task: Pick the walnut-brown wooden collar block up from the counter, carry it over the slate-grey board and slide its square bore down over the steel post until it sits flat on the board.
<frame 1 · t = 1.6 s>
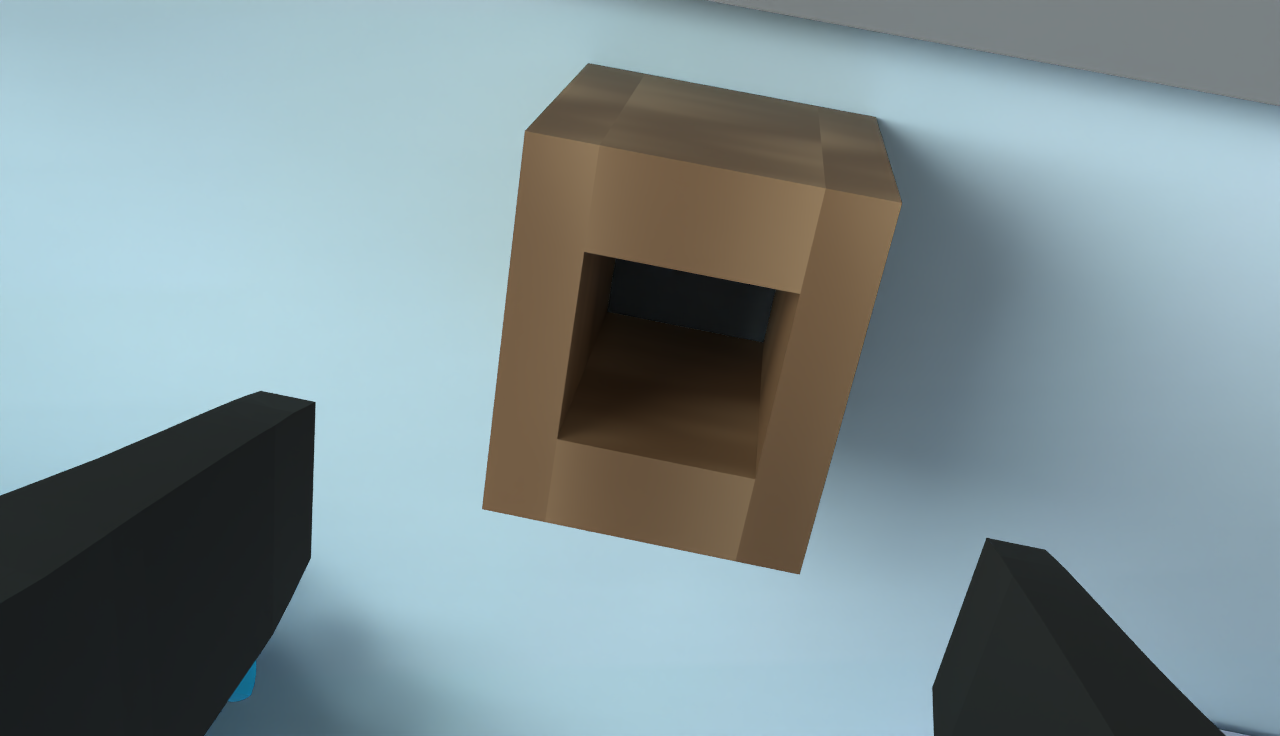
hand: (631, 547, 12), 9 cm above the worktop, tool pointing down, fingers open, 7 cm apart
gear: (115, 627, 26), on the worktop
collar: (699, 253, 20), on the worktop
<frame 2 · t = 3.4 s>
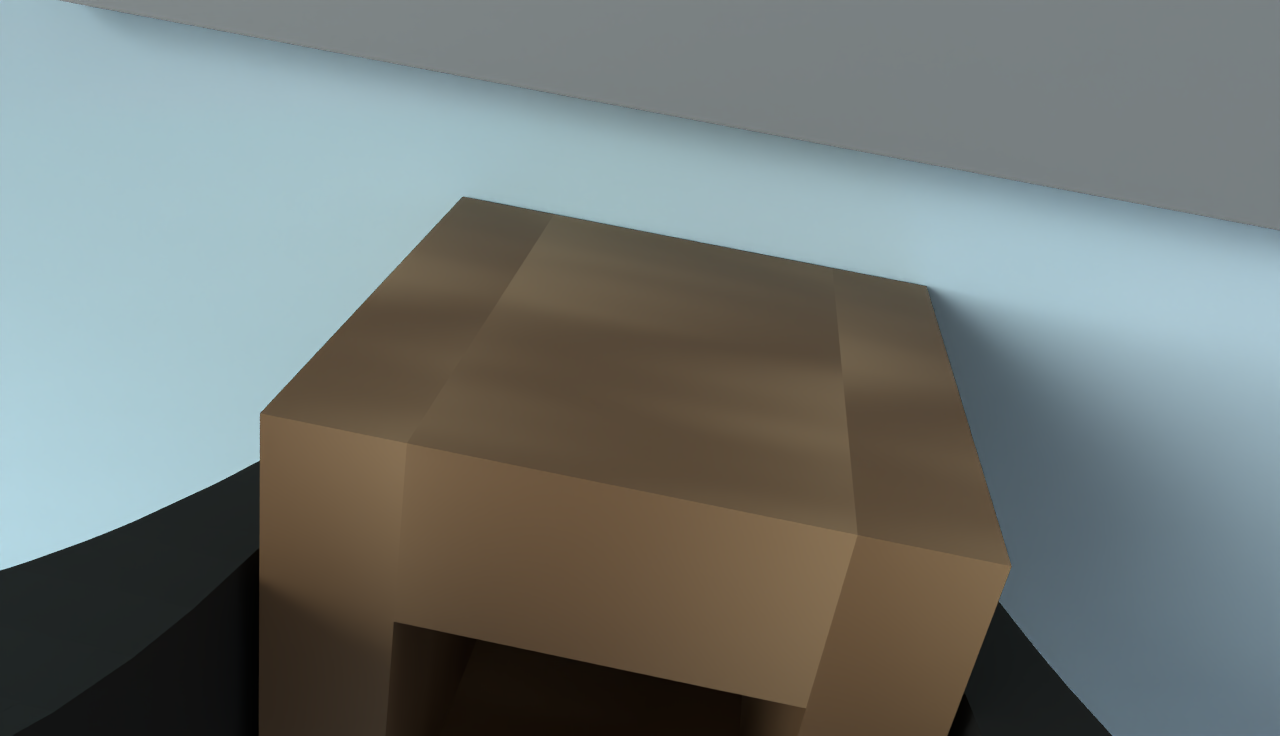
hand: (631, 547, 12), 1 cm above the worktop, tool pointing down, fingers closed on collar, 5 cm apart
collar: (647, 478, 13), on the worktop, touching gripper
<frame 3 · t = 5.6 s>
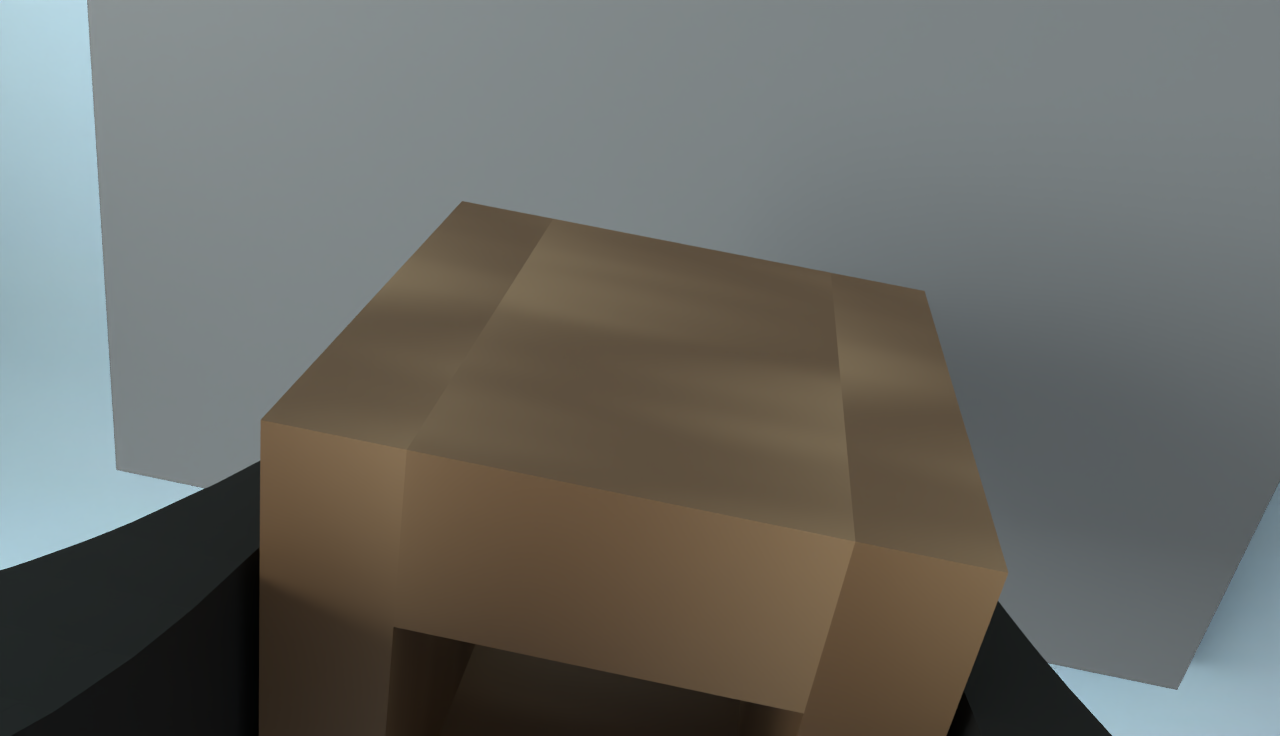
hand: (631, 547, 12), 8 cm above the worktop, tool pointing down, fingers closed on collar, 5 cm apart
collar: (646, 482, 13), point 6 cm above the worktop, touching gripper
hub board: (692, 285, 19), on the worktop
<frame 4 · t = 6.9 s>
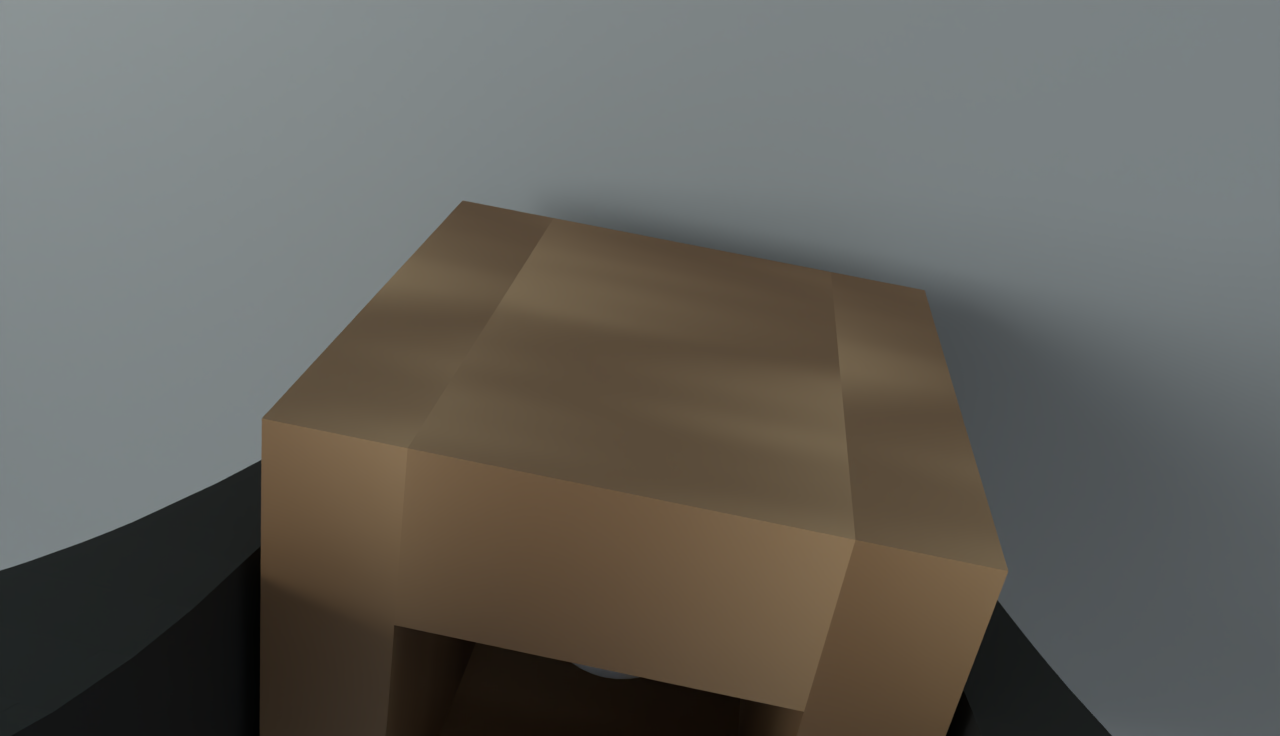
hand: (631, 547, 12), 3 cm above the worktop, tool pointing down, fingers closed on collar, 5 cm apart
collar: (646, 481, 13), point 2 cm above the worktop, touching gripper
hub board: (664, 401, 15), on the worktop
when the fingers open (3 cm above the worktop, at t = 7.8 s): collar stays where it is, resting on hub board.
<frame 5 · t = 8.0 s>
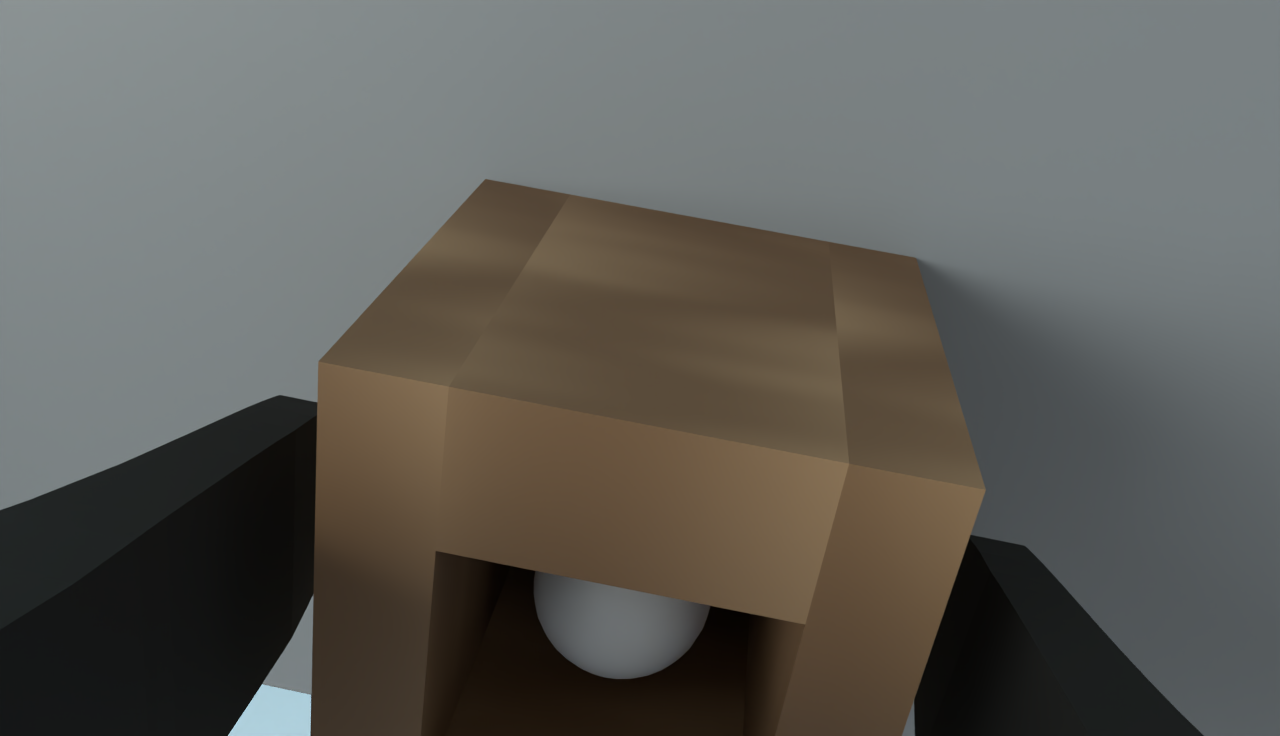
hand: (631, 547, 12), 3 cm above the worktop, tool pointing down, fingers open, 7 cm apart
collar: (658, 442, 14), point 1 cm above the worktop, touching hub board
hub board: (664, 401, 15), on the worktop
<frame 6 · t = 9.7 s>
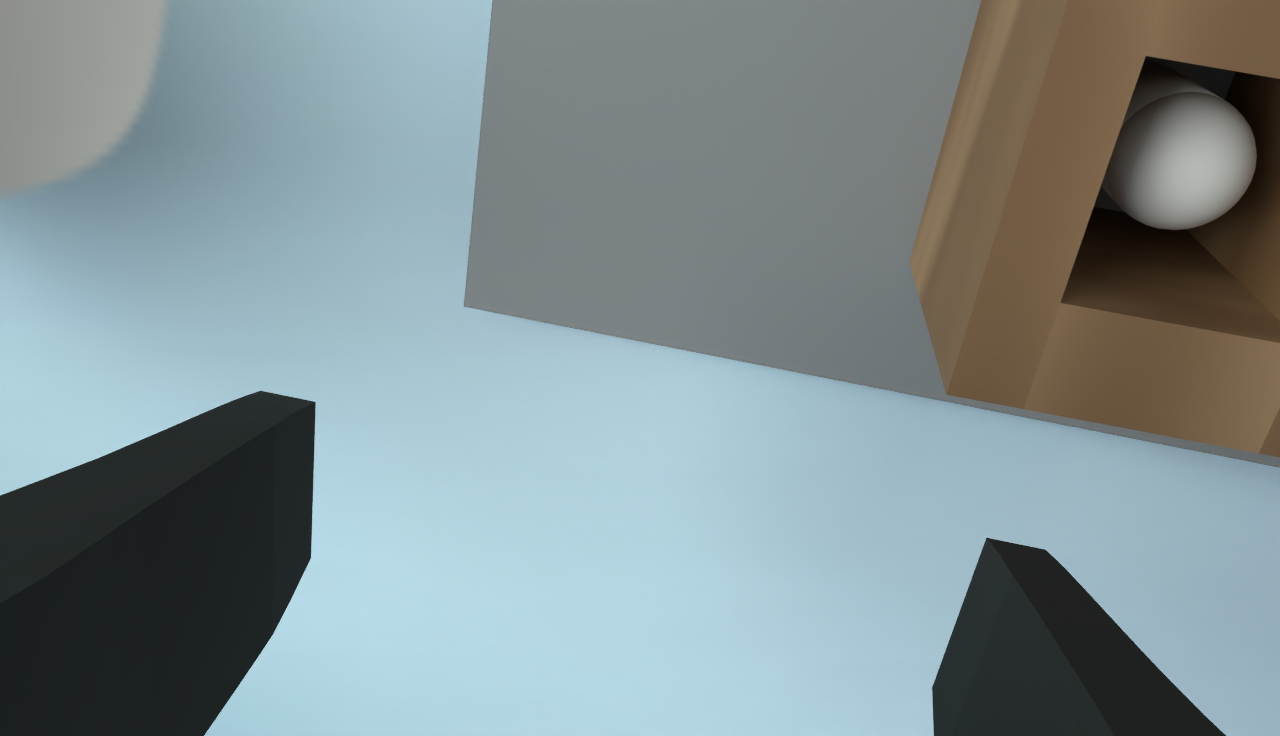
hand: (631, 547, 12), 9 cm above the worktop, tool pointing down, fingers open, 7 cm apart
collar: (1116, 114, 17), point 1 cm above the worktop, touching hub board
hub board: (1099, 96, 18), on the worktop
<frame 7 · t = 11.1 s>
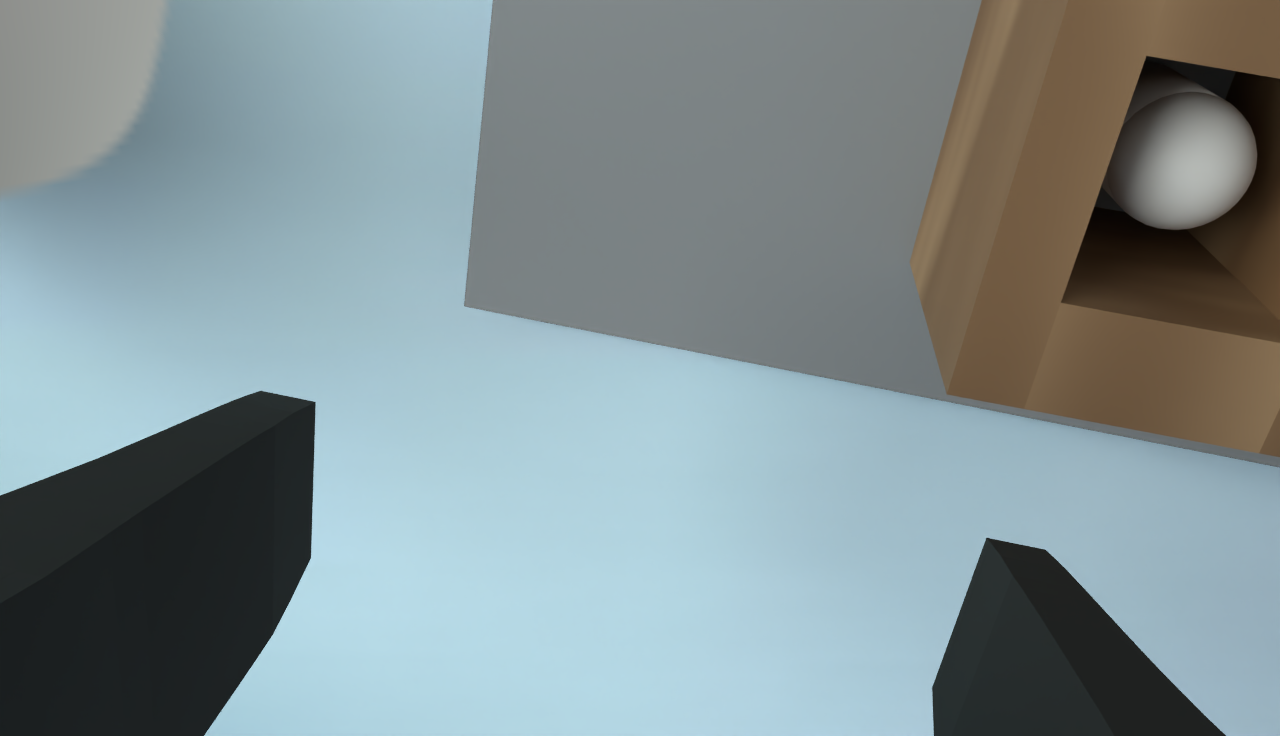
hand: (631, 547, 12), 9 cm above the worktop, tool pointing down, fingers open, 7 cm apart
collar: (1116, 113, 17), point 1 cm above the worktop, touching hub board
hub board: (1100, 96, 18), on the worktop
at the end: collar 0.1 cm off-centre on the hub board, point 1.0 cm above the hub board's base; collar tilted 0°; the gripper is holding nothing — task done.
